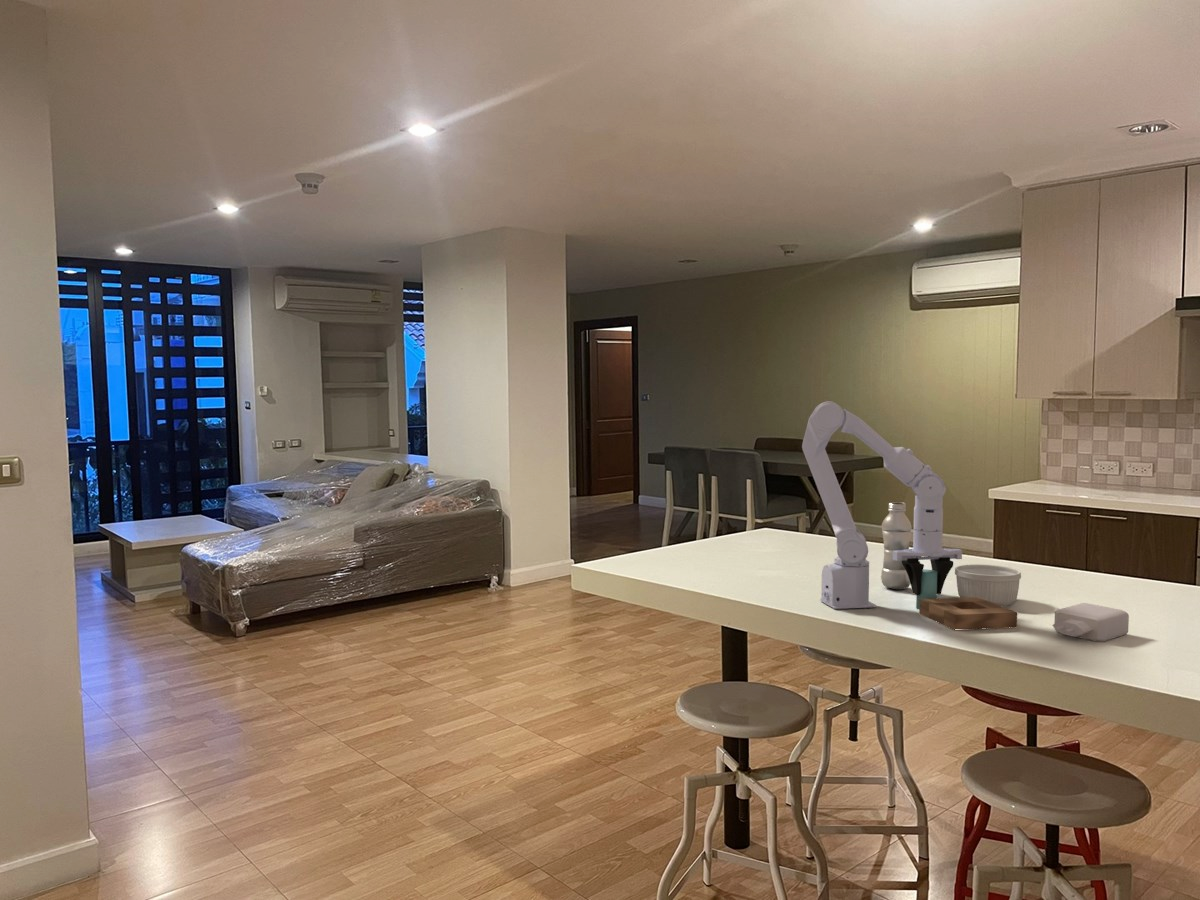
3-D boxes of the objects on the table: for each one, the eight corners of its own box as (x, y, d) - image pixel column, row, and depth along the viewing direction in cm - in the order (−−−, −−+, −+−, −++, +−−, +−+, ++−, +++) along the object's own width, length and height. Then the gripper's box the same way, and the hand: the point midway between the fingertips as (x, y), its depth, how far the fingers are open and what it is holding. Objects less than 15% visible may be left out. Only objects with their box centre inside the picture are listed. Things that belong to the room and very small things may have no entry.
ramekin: (942, 600, 188) (943, 568, 187) (971, 591, 196) (972, 561, 196) (1003, 611, 177) (1004, 578, 177) (1031, 601, 186) (1032, 570, 186)
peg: (922, 611, 177) (923, 573, 177) (912, 606, 181) (913, 569, 181) (940, 610, 178) (941, 572, 177) (930, 606, 182) (930, 569, 181)
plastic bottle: (913, 592, 195) (914, 505, 194) (882, 591, 196) (883, 504, 195) (908, 586, 201) (910, 502, 200) (878, 585, 202) (880, 501, 201)
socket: (954, 630, 163) (954, 614, 162) (919, 613, 175) (919, 599, 175) (1016, 627, 164) (1017, 612, 164) (977, 611, 177) (978, 596, 177)
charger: (1036, 637, 158) (1077, 625, 167) (1087, 649, 151) (1128, 636, 159) (1037, 612, 158) (1078, 601, 167) (1088, 623, 150) (1129, 611, 159)
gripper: (904, 533, 173) (903, 599, 174) (970, 531, 175) (969, 596, 176) (888, 528, 180) (887, 591, 181) (952, 526, 182) (950, 589, 183)
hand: (926, 593), depth 179 cm, fingers open, 4 cm apart
